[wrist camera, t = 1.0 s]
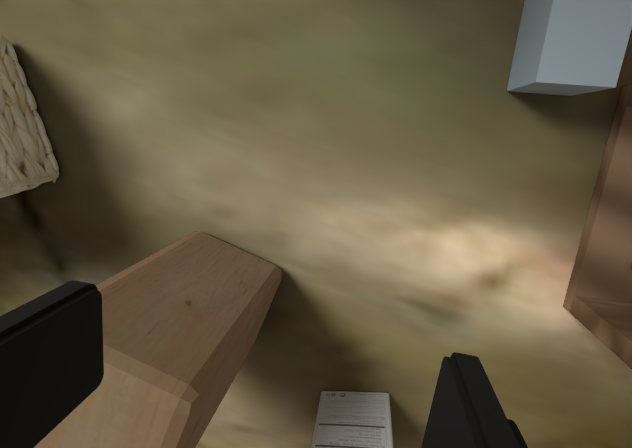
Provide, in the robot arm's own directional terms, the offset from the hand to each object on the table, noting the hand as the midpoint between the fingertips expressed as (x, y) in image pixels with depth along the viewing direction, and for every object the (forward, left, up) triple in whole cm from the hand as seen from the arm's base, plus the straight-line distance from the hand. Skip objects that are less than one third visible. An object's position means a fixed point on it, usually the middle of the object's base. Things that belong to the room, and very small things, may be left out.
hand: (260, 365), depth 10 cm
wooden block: (+11, -11, -26) cm, 30 cm away
